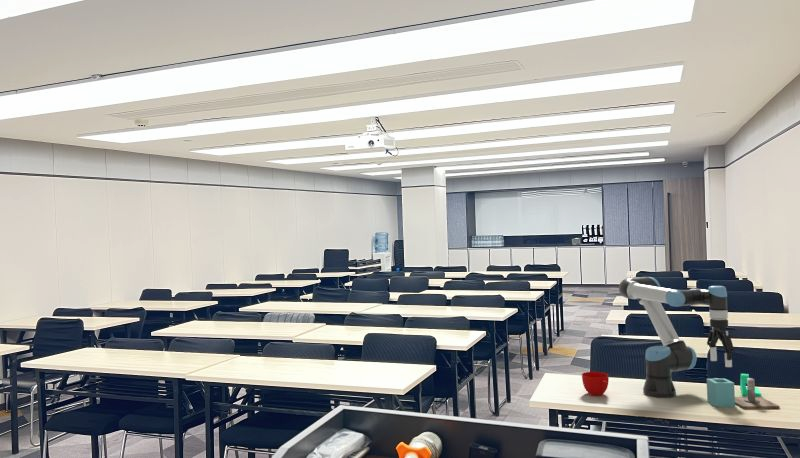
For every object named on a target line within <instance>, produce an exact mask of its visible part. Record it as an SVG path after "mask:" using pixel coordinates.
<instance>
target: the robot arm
mask: <svg viewBox="0 0 800 458" xmlns="http://www.w3.org/2000/svg"><path fill="white" fill-rule="evenodd" d="M618 285H619V286H618V292H619V293H620V295H621V296H622V297H623V298H625V299H628V300H629V299H630V300H637V301H638V303H639V304H640V305H641V306H643V308H644V309H645V311H646V313H647V315H648V317H649V319H650V321H651V324H652V325H653V327H654V330H655V331H656V334H657V335H658V337H659V340H660V341H661V343H662V345H654V346H649V347H647V349H645V356H644V357H645V358H644V359H645V372H646V373H645V375H646V378H645V382H644V385H643V389H642V390H643V391H642V392H643V394H644V395H646V396H648V397H649V396H650V397H653V398H667V399H668V398H672V397H676V396H677V390H676V388H675V384H674V382H673V380H672V372H680V371H687V370H691V369H693V368H694V367H695V366H696V363H697V360H698V359H697V353H696V351H695V349H694V348H693V347H691V346H689V345H687V344H686V342H685V340H682V339H681V338H680V337H679V335H678V334H677V332H676V329H675V328H674V325H673V323H672V321H671V320H670V318H669V316H668V314H667V312H666V311H665V308H664V306H663V305H662V303H663V304H666V305H667V304H668V305H669V306H670V307H678V308H679V307H685V306H697V305H702V306H704V305H705V306H709V307H708V308H709V318H710V319H709V332H708V337H707V341H706V345H707V346H709V354H710V355H709V356H710V358H709V359H710V362H717V361H718V355H717V343H718V341H720V342H721V344H722V346H723V348H724V364H725V365H724V366H725V368H733V359H732V353H735V348H734V344H733V341H732V338H731V332H730V330H726V328H729V320H728V318H729V315H728V314H729V311H728V291H727V288H726V286H723V285H709V286H708V289H705V288H703V289H702V288H690V289H684V290H683V289H682V290H681V289H673V288H666V287H662V286H661V285H660V283H659V280H657V279H656V278H654V277H651V276H641V277H640V276H639V277H638V276H637V277H626V278H624V279H623V280H622V281H620V283H619V284H618Z"/></svg>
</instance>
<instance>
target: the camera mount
mask: <svg viewBox="0 0 800 458" xmlns="http://www.w3.org/2000/svg"><path fill="white" fill-rule="evenodd" d="M747 378H750V375H749V373H740V381H739V382H740V389H739V390H740V394H741V395H742V396H748V391H747ZM755 396H760V397H762V393H761V391H760V389H759V387H756V386H755Z"/></svg>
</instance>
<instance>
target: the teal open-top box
mask: <svg viewBox="0 0 800 458" xmlns="http://www.w3.org/2000/svg"><path fill="white" fill-rule="evenodd" d="M706 394H707V395H706V396H707V397H706V398H707V403H708V404H711V405H712V406H714V407H716V408H730V407H731V408H732V407H733V408H734V407H736V405H735V397H736V395H735V382H733V381H731V380H729V379H727V378H718V377H714V378H706Z"/></svg>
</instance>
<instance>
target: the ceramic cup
mask: <svg viewBox="0 0 800 458" xmlns="http://www.w3.org/2000/svg"><path fill="white" fill-rule="evenodd" d="M581 379H582V385H583V388H584V389H585V391H586V392H587V393H588V395H590V396H593V397H600V396H603V394H605V393H606V391H607V389H608V387H609V386H608V385H609V374H608V373H606V372H599V371H586V372H583V373H581Z"/></svg>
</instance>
